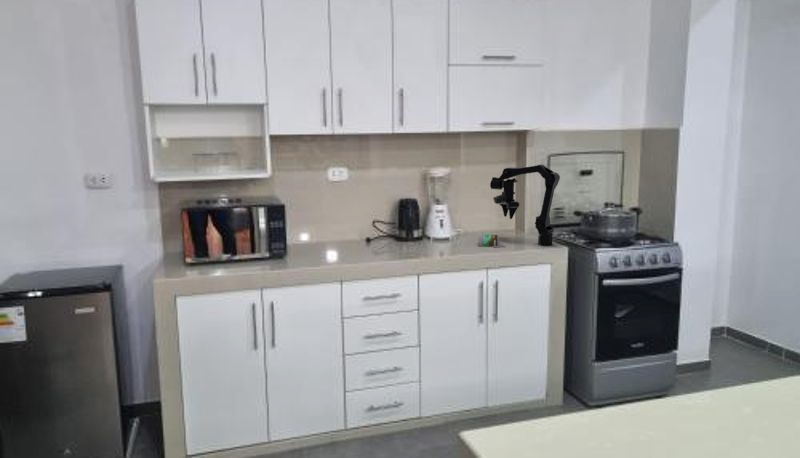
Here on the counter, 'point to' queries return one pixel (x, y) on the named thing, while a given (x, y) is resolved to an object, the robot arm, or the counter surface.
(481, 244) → the food container
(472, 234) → the counter surface
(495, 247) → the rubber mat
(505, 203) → the robot arm
